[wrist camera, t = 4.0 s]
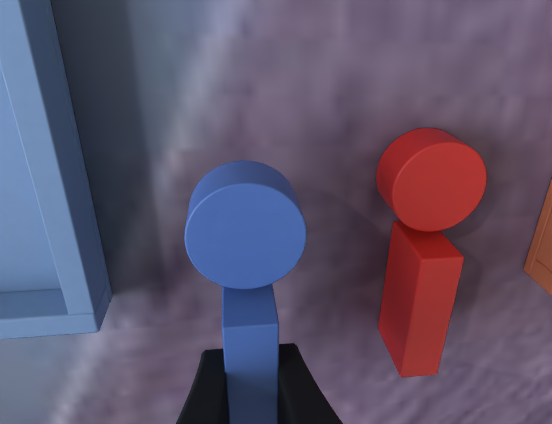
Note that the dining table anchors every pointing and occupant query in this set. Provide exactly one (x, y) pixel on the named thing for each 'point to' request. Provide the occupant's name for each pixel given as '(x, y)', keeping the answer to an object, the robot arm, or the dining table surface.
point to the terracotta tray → (542, 247)
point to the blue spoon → (247, 273)
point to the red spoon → (424, 241)
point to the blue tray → (43, 188)
